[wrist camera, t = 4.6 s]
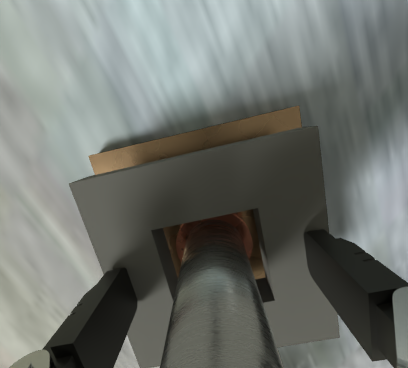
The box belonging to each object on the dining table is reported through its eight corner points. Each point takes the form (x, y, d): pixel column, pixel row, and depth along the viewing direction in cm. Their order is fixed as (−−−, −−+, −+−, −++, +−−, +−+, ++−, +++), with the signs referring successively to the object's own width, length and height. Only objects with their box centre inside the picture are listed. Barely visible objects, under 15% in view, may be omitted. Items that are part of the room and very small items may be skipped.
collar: (90, 176, 10) (68, 183, 8) (299, 127, 9) (318, 126, 8) (149, 339, 12) (140, 369, 11) (322, 310, 12) (339, 337, 10)
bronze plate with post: (97, 154, 13) (-434, 249, 2) (291, 107, 12) (938, -97, 1) (151, 311, 16) (28, 701, 5) (314, 282, 15) (596, 677, 4)
